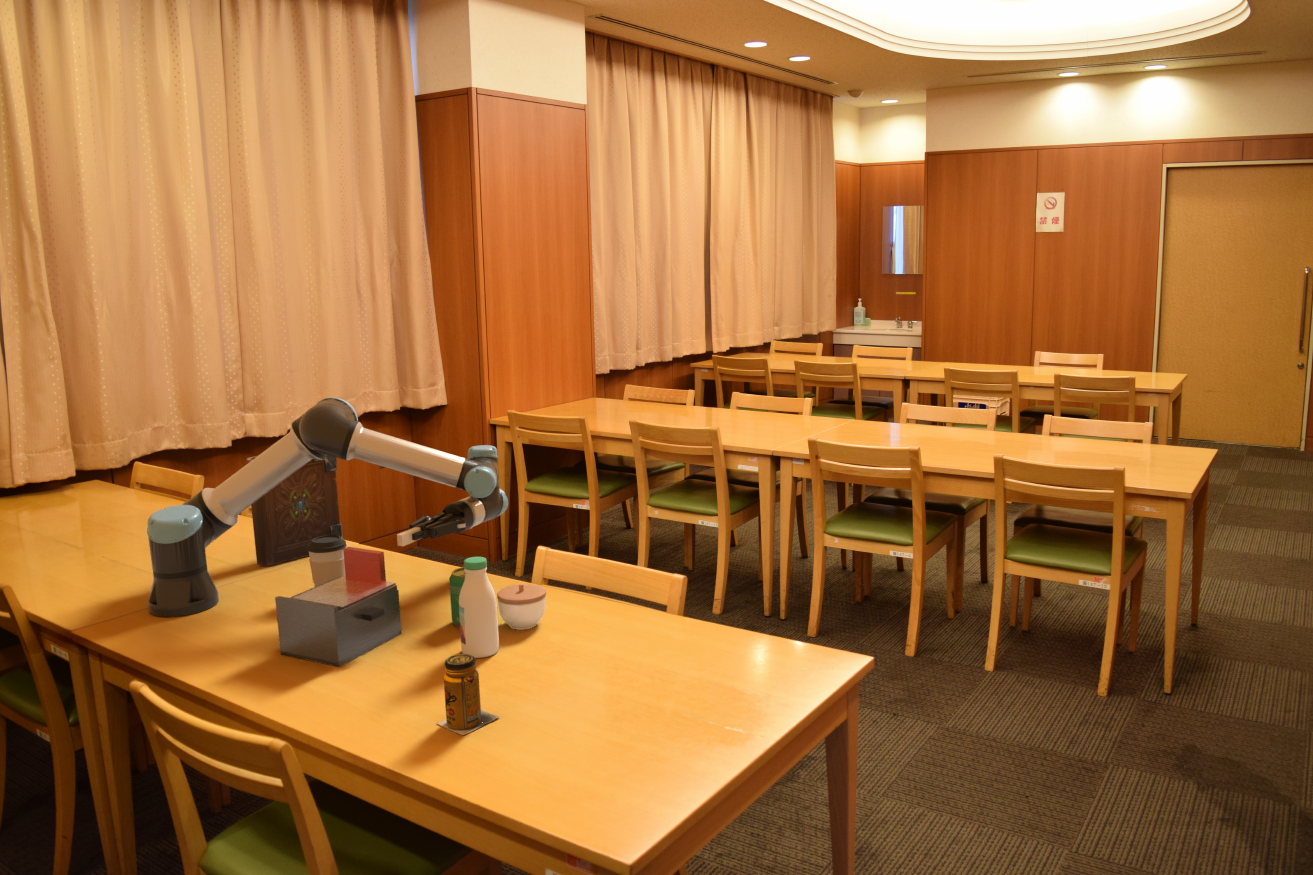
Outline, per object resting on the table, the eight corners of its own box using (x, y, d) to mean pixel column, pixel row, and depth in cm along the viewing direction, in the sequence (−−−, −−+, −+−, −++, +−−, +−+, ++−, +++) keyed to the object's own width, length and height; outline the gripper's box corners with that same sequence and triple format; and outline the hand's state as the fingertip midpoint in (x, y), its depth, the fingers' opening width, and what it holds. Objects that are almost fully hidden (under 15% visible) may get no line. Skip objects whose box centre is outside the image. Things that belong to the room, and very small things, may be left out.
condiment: (436, 724, 170) (431, 660, 168) (474, 706, 177) (470, 644, 175) (462, 736, 166) (458, 670, 164) (500, 718, 172) (497, 654, 170)
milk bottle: (505, 646, 204) (501, 555, 200) (487, 660, 197) (482, 566, 193) (473, 642, 206) (468, 552, 203) (454, 656, 199) (448, 563, 196)
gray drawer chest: (337, 621, 220) (333, 568, 218) (410, 635, 211) (406, 580, 209) (272, 652, 203) (266, 595, 201) (348, 668, 194) (343, 609, 192)
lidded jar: (538, 635, 210) (536, 593, 208) (491, 632, 212) (489, 591, 210) (553, 617, 220) (551, 577, 218) (508, 614, 222) (506, 575, 220)
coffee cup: (338, 603, 232) (333, 543, 229) (304, 601, 234) (298, 541, 231) (357, 591, 240) (352, 532, 238) (324, 589, 242) (319, 531, 240)
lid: (346, 579, 217) (343, 544, 216) (395, 587, 211) (393, 551, 210) (292, 602, 203) (288, 565, 202) (343, 611, 197) (339, 573, 196)
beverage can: (495, 618, 220) (492, 568, 218) (474, 631, 213) (471, 578, 211) (466, 613, 223) (463, 564, 221) (444, 626, 216) (441, 574, 214)
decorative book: (330, 543, 282) (321, 442, 276) (343, 548, 277) (335, 445, 272) (252, 563, 264) (241, 456, 259) (266, 568, 260) (255, 459, 254)
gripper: (485, 532, 241) (423, 559, 220) (442, 526, 246) (378, 552, 225) (483, 502, 239) (421, 527, 218) (440, 498, 245) (376, 521, 224)
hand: (399, 540), depth 222 cm, fingers closed
